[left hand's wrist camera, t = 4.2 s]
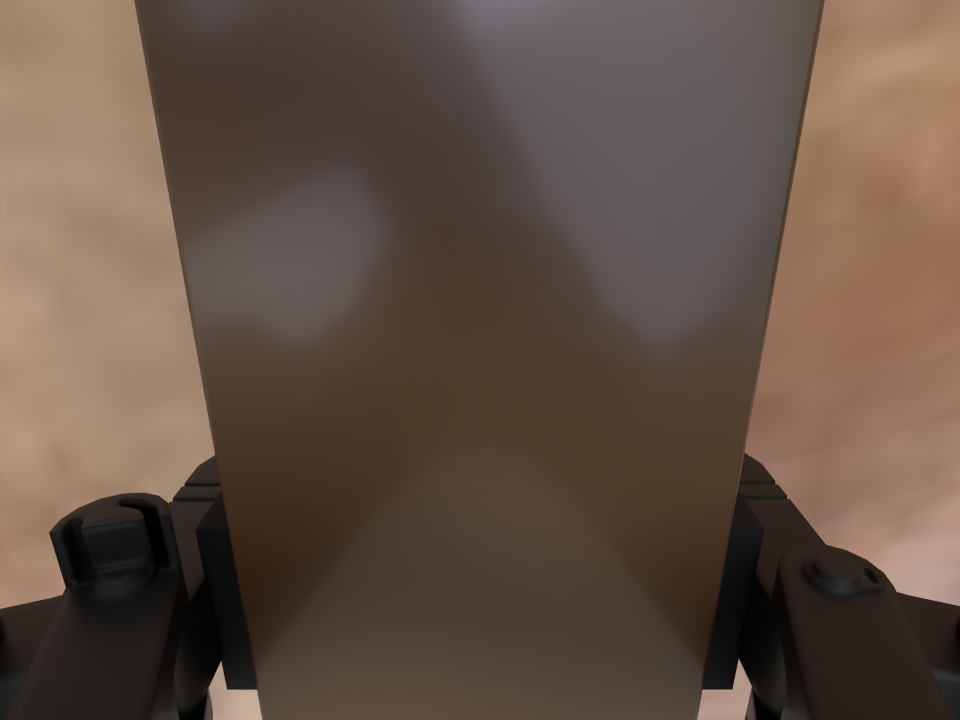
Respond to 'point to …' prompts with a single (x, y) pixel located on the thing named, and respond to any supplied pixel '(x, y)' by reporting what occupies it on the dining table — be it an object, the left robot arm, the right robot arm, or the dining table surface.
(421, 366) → the post
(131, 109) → the dining table surface
